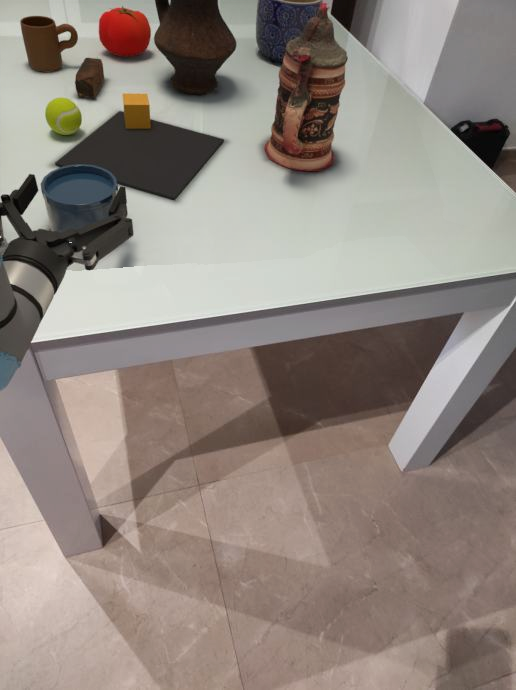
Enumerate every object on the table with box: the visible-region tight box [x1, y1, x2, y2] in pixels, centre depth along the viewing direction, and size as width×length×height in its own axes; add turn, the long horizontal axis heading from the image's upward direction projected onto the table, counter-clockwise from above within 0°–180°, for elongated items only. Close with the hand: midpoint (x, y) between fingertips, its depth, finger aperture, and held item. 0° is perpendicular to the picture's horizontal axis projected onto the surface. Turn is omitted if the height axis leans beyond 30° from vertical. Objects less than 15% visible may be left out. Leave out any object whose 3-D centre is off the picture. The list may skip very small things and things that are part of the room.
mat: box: [54, 110, 225, 201], centre depth 100 cm, size 24×24×1 cm
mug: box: [19, 15, 79, 73], centre depth 118 cm, size 12×8×9 cm, turn 100°
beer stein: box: [264, 2, 349, 172], centre depth 97 cm, size 17×28×18 cm
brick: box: [74, 57, 105, 99], centre depth 114 cm, size 11×4×5 cm, turn 179°
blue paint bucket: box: [40, 164, 119, 246], centre depth 81 cm, size 11×11×8 cm
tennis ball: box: [44, 97, 83, 136], centre depth 100 cm, size 7×7×7 cm
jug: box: [153, 0, 237, 95], centre depth 112 cm, size 21×18×30 cm
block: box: [122, 92, 151, 129], centre depth 105 cm, size 5×5×5 cm
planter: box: [255, 0, 324, 64], centre depth 135 cm, size 16×16×15 cm
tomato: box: [98, 5, 152, 58], centre depth 127 cm, size 11×13×10 cm
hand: (79, 188), depth 78 cm, fingers open, 13 cm apart
